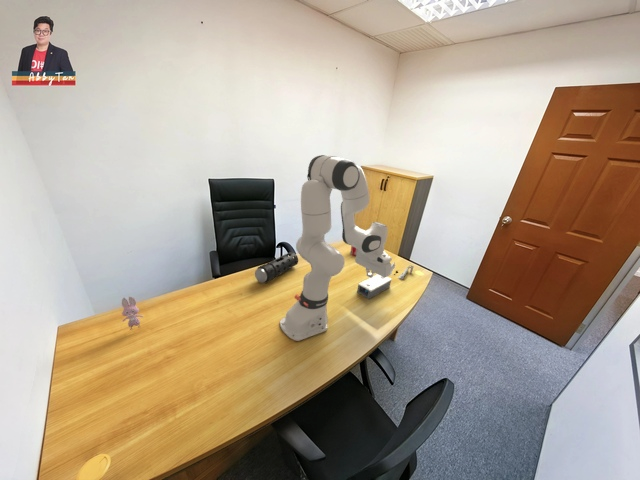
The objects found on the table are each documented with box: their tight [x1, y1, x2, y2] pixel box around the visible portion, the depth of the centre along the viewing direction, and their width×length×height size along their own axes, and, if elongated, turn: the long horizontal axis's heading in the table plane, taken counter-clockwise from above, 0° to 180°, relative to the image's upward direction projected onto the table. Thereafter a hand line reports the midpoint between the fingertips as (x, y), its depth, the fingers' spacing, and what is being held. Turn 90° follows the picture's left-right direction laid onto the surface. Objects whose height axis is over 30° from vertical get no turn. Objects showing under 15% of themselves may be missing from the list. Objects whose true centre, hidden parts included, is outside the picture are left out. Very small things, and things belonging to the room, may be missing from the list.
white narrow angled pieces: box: [389, 261, 414, 281], centre depth 151 cm, size 15×13×5 cm
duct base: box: [356, 280, 392, 300], centre depth 130 cm, size 20×8×4 cm, turn 132°
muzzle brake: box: [254, 251, 299, 284], centre depth 135 cm, size 10×28×10 cm, turn 148°
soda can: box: [350, 245, 358, 257], centre depth 170 cm, size 7×7×12 cm
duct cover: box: [357, 274, 393, 292], centre depth 129 cm, size 20×8×1 cm, turn 132°
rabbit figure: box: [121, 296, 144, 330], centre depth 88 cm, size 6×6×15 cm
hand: (369, 276), depth 123 cm, fingers closed
